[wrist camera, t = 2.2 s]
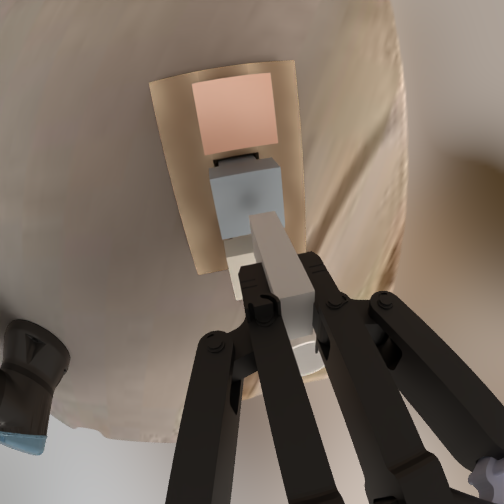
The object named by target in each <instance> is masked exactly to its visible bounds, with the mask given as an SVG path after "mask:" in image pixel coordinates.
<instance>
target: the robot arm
mask: <svg viewBox="0 0 504 504" xmlns="http://www.w3.org/2000/svg"><path fill="white" fill-rule="evenodd" d="M249 223H250V230H251V236H252V243H253V250H254V256H255V259H256V263H255V264H250V265H245V266H241V267H240V270H239V273H238V277H239V282H240V287H241V292H242V297H243V302H244V307H245V313H246V317H245V320H244V322H243V323H242V325H241V326H239V327H238V328H237V329H235V330H233V331H231V332H229V333H226V332H223V331H212V332H209V333H207V334H205V335H204V336H203V337H202V338H201V339H200V341H199V343H198V347H197V351H196V356H195V360H194V364H193V369H192V373H191V377H190V382H189V386H188V391H187V395H186V400H185V405H184V409H183V414H182V419H181V423H180V428H179V433H178V438H177V443H176V448H175V453H174V458H173V463H172V469H171V474H170V480H169V485H168V491H167V497H166V502H165V504H230V500H231V491H232V482H233V473H234V464H235V455H236V446H237V437H238V428H239V417H240V409H241V400H242V390H243V381H244V378H245V377H247V376H249V375H251V374H252V373H254V372H256V371H258V374H259V379H260V383H261V388H262V392H263V397H264V401H265V406H266V410H267V415H268V419H269V423H270V427H271V432H272V436H273V441H274V445H275V449H276V454H277V458H278V462H279V466H280V470H281V474H282V478H283V483H284V486H285V491H286V495H287V499H288V503H289V504H345V503H344V501H343V498H342V496H341V495H340V493H339V492H338V490H337V488H336V485H335V482H334V478H333V475H332V472H331V469H330V466H329V462H328V459H327V456H326V453H325V450H324V446H323V443H322V440H321V437H320V434H319V430H318V427H317V424H316V421H315V418H314V415H313V412H312V408H311V405H310V402H309V399H308V396H307V393H306V389H305V386H304V383H303V380H302V377H301V374H300V371H299V368H298V365H297V361H296V358H295V355H294V352H293V349H292V346H291V343H290V340H292V339H296V338H300V337H304V336H308V335H312V334H313V328H314V331H315V333H316V344H315V354H317V353H318V350H319V352H320V355H321V357H322V360H323V363H324V365H325V368H326V371H327V373H328V376H329V379H330V381H331V384H332V387H333V389H334V392H335V395H336V397H337V400H338V403H339V406H340V408H341V411H342V414H343V416H344V419H345V422H346V425H347V428H348V431H349V433H350V436H351V439H352V442H353V444H354V448H355V450H356V453H357V456H358V459H359V462H360V465H361V468H362V471H363V474H364V477H365V491H366V495H367V498H368V501H369V504H504V406H503V405H502V404H501V402H500V401H499V400H498V399H497V398H496V397H495V395H494V394H493V393H492V392H491V391H490V390H489V389H488V387H487V386H486V385H485V384H484V383H483V382H482V381H481V380H480V379H479V378H478V376H477V375H476V374H475V373H474V372H473V371H472V370H471V369H470V368H469V367H468V366H467V365H466V364H465V362H464V361H463V360H462V359H461V358H460V357H459V356H458V355H457V354H456V353H455V352H454V351H453V350H452V349H451V348H450V347H449V346H448V345H447V344H446V343H445V342H444V341H443V340H442V339H441V338H440V337H439V336H438V335H437V334H436V333H435V332H434V331H433V330H432V329H431V328H430V327H429V326H428V325H427V324H426V323H425V322H424V321H423V320H422V319H421V318H420V317H419V316H417V315H416V314H415V313H414V312H413V311H412V310H411V309H410V308H409V307H408V306H407V305H406V304H405V303H404V302H403V301H401V300H400V299H399V298H398V297H397V296H396V295H394V294H393V293H391V292H388V291H379V292H376V293H374V294H373V295H372V296H371V299H370V300H353V299H350V298H349V297H348V296H347V295H346V294H344V293H342V292H340V291H339V289H338V288H337V286H336V284H335V282H334V281H333V279H332V277H331V275H330V274H329V272H328V271H327V269H326V267H325V265H324V263H323V262H322V260H321V258H320V257H319V256H318V255H317V254H315V253H314V252H312V251H311V252H306V253H301V254H297V253H296V251H295V249H294V247H293V245H292V243H291V241H290V239H289V237H288V235H287V233H286V231H285V229H284V227H283V226H282V224H281V222H280V220H279V218H278V216H277V214H276V212H275V211H271V212H265V213H260V214H254V215H249ZM69 363H70V355H69V352H68V350H67V349H66V347H65V346H64V345H63V344H62V343H61V342H60V341H59V340H58V339H57V338H56V337H55V336H54V335H52V334H51V333H50V332H48V331H47V330H45V329H43V328H42V327H40V326H38V325H36V324H33V323H31V322H27V321H23V320H15V321H12V322H10V323H9V325H8V327H7V329H6V332H5V335H4V348H3V362H2V365H1V368H0V444H2V445H5V446H7V447H10V448H12V449H15V450H18V451H21V452H24V453H28V454H32V455H41V454H42V453H43V451H44V447H45V442H46V438H47V428H48V421H49V415H50V409H51V404H52V398H53V394H54V390H55V388H56V387H57V385H58V384H59V382H60V381H61V379H62V377H63V375H64V374H65V373H66V372H67V370H68V367H69ZM398 389H399V390H398ZM399 391H401V393H402V394H403V395H404V397H405V398H406V399H407V400H408V402H409V403H410V404H411V405H412V406H413V408H414V409H415V410H416V411H417V412H418V414H419V415H420V416H421V417H422V418H423V420H424V421H425V422H426V423H427V425H428V426H429V427H430V428H431V430H432V431H433V432H434V433H435V434H436V436H437V437H438V438H439V440H440V441H441V442H442V443H443V444H444V446H445V447H446V448H447V450H448V451H449V452H450V453H451V455H452V456H453V457H454V458H455V459H456V460H457V461H458V462H459V463H460V464H461V465H462V466H463V467H465V468H466V469H468V470H470V471H471V472H472V473H471V474H470V475H469V478H468V482H469V484H471V485H473V486H474V487H475V488H476V489H477V490H478V492H479V498H477V497H474V496H471V495H468V494H466V493H463V492H460V491H458V490H455V489H452V488H450V487H449V484H448V482H447V479H446V476H445V474H444V471H443V468H442V466H441V463H440V461H439V460H438V458H437V457H436V456H435V455H434V454H433V453H430V452H428V451H427V450H426V449H425V447H424V445H423V443H422V441H421V438H420V436H419V434H418V432H417V430H416V427H415V425H414V422H413V420H412V418H411V416H410V414H409V411H408V409H407V407H406V405H405V403H404V401H403V399H402V396H401V394H400V392H399Z"/></svg>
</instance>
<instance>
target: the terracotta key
mask: <svg viewBox="0 0 504 504" xmlns="http://www.w3.org/2000/svg"><path fill="white" fill-rule="evenodd" d="M192 89H193V95H194V100H195V106H196V111H197V117H198V122H199V128H200V133H201V138H202V144H203V149H204V154H205V155H210V154H215V153H220V152H226V151H231V150H237V149H243V148H249V147H255V146H262V145H269V144H276V143H278V135H277V126H276V116H275V107H274V98H273V90H272V82H271V73H261V74H251V75H242V76H235V77H228V78H221V79H215V80H209V81H204V82H199V83H194V84H192Z"/></svg>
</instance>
